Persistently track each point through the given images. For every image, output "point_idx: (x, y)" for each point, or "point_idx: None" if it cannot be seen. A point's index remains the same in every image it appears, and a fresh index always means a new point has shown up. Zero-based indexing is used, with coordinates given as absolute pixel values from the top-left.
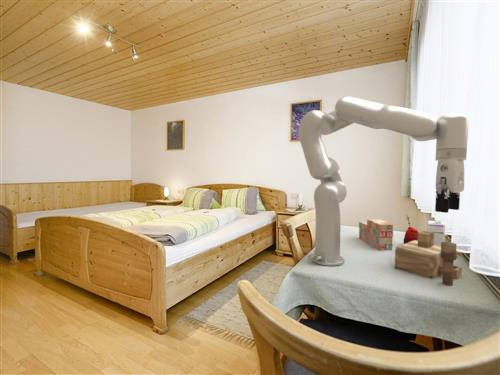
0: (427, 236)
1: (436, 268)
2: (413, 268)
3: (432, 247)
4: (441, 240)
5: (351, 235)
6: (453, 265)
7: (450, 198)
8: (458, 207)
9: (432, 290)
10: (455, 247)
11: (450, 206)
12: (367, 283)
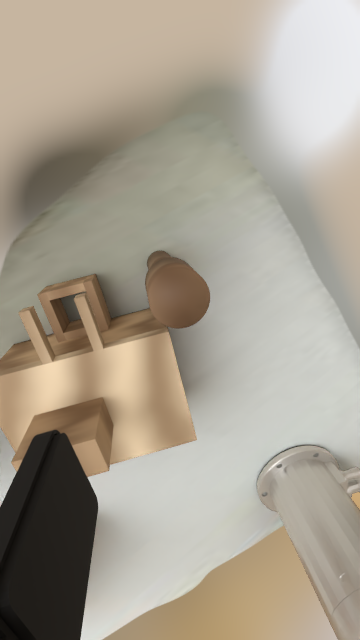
0: (97, 433)
1: (132, 321)
2: None
3: (70, 399)
4: None
5: None
6: (50, 316)
7: (59, 636)
8: (48, 446)
9: (242, 253)
10: (178, 266)
11: (84, 503)
12: (339, 343)
